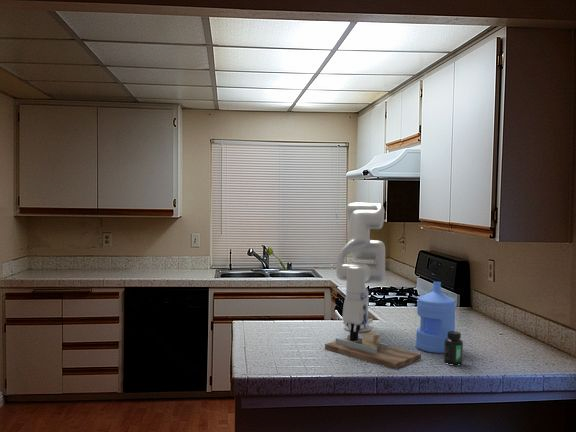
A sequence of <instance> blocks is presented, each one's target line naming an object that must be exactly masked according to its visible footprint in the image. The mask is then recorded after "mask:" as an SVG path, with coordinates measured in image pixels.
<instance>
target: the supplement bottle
mask: <svg viewBox="0 0 576 432" xmlns="http://www.w3.org/2000/svg"><path fill="white" fill-rule="evenodd" d="M461 335H462V334H461V332H460V331H456V330H455V331H448V335H447V337H448V338H447V339H445V343H444V353H443V363H444V362H445V363H448V364H453V365H458V364H462V365H463V358H464V356H463V355H464V342H463V340H462V339H461V338H462V336H461ZM445 363H444V364H445ZM448 364H447V365H448Z"/></svg>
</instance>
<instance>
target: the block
mask: <svg viewBox="0 0 576 432" xmlns="http://www.w3.org/2000/svg"><path fill="white" fill-rule="evenodd" d="M361 338H362V345H366V346H370V347H374V348H377V350H378V349H380V343H381V342H380V341H381V334H380V333H377V332H374V331H373V332H372V331H367V332H362V335H361Z"/></svg>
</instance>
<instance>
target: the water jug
mask: <svg viewBox="0 0 576 432" xmlns="http://www.w3.org/2000/svg"><path fill="white" fill-rule="evenodd" d="M441 284H442V282H441V281H433V286H432V291H430V292H429V293H426V294H424V295H421V296H419V297H417V301H416V302H417V303H416V308H417V309H416V310H417V311H416V312H417V313H416V314H417V316H419V317H420V325H419V327H418V328H417V329H416V332H415V334H416V335H415V336H416V338H415V347H416V348H418V349H419V350H420V351H423V352H426V351H427V353H431V352H434V353H433V354H444V343H445V339H447V338H448V337H447V335H448V331H456V310H457V309H456V308H457V305H456V300H455V299H454V298H452V297H451V296H449V295H447V294H445V293H444V292H442V291H441V289H442V285H441Z"/></svg>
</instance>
